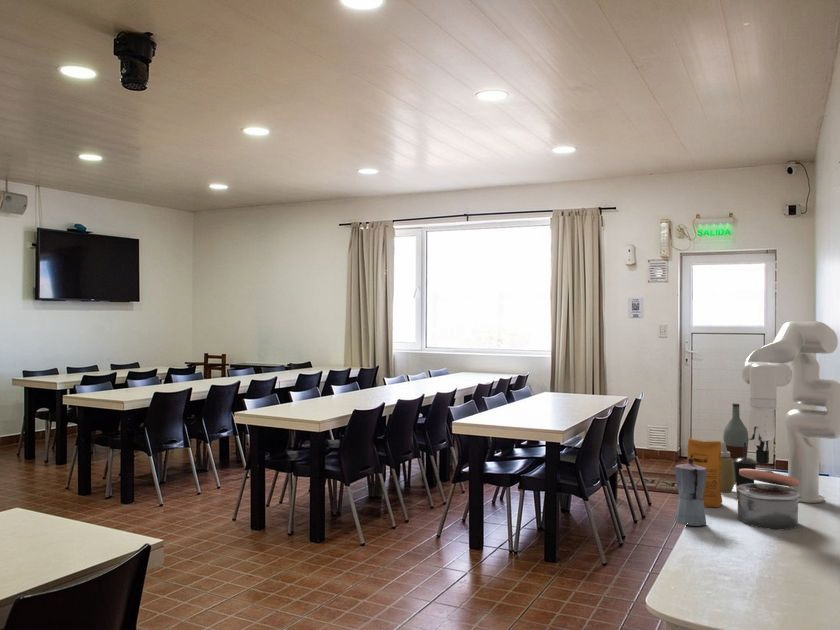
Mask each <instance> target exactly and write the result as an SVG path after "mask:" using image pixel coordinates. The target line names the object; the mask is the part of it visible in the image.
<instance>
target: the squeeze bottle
mask: <svg viewBox="0 0 840 630" xmlns="http://www.w3.org/2000/svg"><path fill="white" fill-rule="evenodd" d="M720 460H721V476H720V490H721V493H731V492H732V491H733V490H734V486H735V485H736V482H735V475H734V466H733V459H731V458H730V452H728V451H727V448H726V444H725V442H724V441H721V456H720Z"/></svg>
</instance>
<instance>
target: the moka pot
mask: <svg viewBox="0 0 840 630" xmlns="http://www.w3.org/2000/svg"><path fill="white" fill-rule="evenodd" d="M688 460H689V464H687V463H683V464H677V465H675V466H674V473H675V481H676V482H675V483H676V488H677V489H676V490H677V491H678V500H677V506H676V514H675V520H674V521H675V522H676V523H678V524H680V525H684V526H685V525H686V526H692V527H697V526H698V527H701V526H705V525H707V519H706V511H705V507H704V502H703V492H704V489H705V480H706V473H707V468H705V467H701V466H698V465H695V464H693V460H694V459H692V458H689V459H688ZM687 523H688V524H687Z"/></svg>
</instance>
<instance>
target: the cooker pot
mask: <svg viewBox="0 0 840 630" xmlns="http://www.w3.org/2000/svg"><path fill="white" fill-rule="evenodd" d="M737 492H738V499H737V520H738V521H739V522H741V523H742V522H743V524H745V525H747V524H748V526H751V525H753V526H752V527H755V526H757V527H756V528H760V527H762V528H761V529H766V528H770V529H769V530H778V529H785V530H792V528H793V529H796V528H798V526H799V502H798V498H799V492H798V491H796V490H794V489H791V488H788V486H782V485H775V484H770V483H763V482H762V483H761V482H760V483H759V482H756V483H755V482H754V483H748V484H741V485H739V486H737V490H736V493H737ZM795 527H796V528H795Z"/></svg>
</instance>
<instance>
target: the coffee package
mask: <svg viewBox="0 0 840 630" xmlns="http://www.w3.org/2000/svg"><path fill="white" fill-rule="evenodd" d="M687 441H688V443H687V455H686V456H687V460H686V464H689V460H688V459H689V458H692V459H694V460H693V464H695V465H698V466H701V467H705V468H707V473H706V480H705V489H704V492H703V502H704V508H719V507H720V506H721V505H722V504H723V498H722V497H723V496H722V492H721V490H720V476H721V460H720V456H721V443H722V441H721V440H713V441H711V440H708V441H707V440H706V441H703V440H698V439H694V438H688V440H687Z"/></svg>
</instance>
